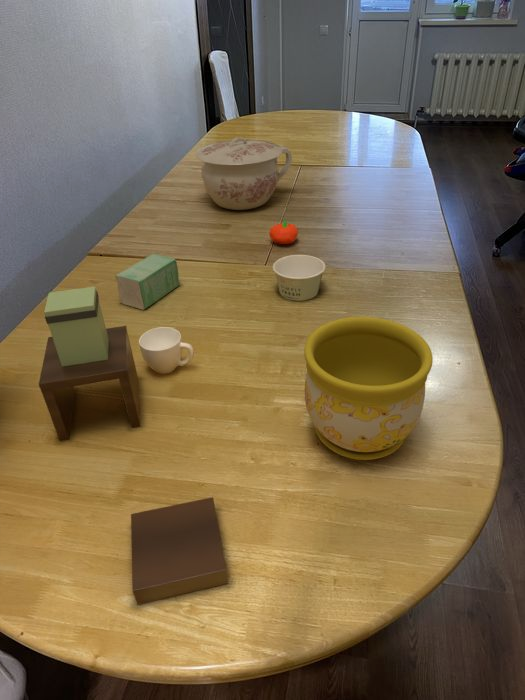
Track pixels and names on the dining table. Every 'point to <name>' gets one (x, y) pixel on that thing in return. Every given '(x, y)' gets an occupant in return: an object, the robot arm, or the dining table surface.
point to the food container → (299, 276)
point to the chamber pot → (242, 171)
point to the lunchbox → (77, 326)
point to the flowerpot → (365, 384)
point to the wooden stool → (89, 380)
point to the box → (147, 281)
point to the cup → (164, 349)
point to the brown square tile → (176, 551)
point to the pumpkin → (283, 233)
